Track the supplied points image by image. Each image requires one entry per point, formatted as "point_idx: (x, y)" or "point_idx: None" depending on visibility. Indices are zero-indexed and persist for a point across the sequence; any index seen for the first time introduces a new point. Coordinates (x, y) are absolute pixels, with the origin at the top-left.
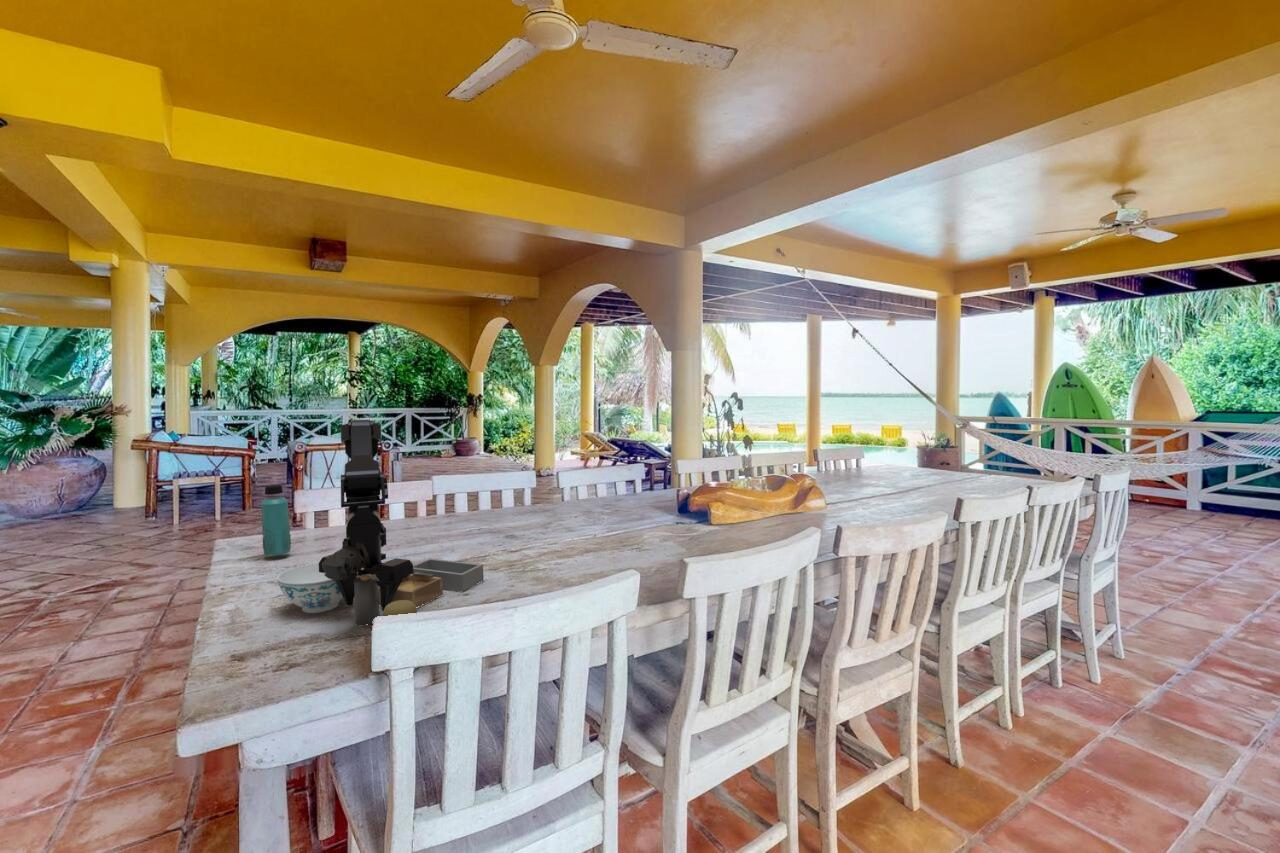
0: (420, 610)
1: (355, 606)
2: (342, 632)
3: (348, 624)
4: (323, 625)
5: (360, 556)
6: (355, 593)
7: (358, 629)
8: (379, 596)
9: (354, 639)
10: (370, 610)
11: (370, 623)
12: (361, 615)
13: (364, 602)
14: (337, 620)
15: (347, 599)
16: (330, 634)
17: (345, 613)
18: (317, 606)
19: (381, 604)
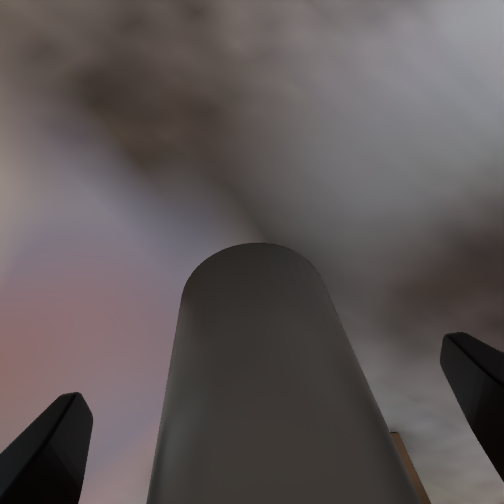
0: (136, 485)
1: (301, 334)
2: (245, 109)
3: (332, 224)
4: (500, 125)
5: None
6: (327, 477)
7: (187, 204)
8: None
9: (15, 61)
10: (172, 361)
11: (184, 291)
12: (220, 294)
13: (189, 402)
14: (461, 229)
15: (486, 377)
16: (301, 27)
17: (489, 313)
18: None
19: (34, 447)
